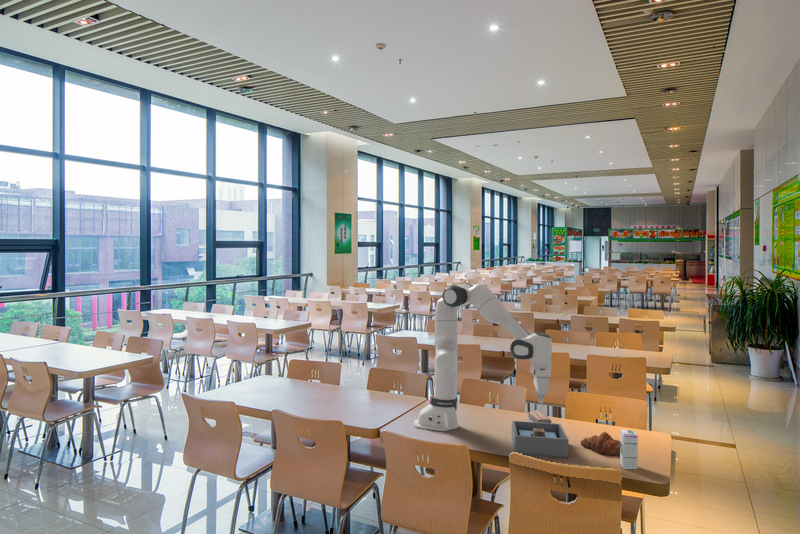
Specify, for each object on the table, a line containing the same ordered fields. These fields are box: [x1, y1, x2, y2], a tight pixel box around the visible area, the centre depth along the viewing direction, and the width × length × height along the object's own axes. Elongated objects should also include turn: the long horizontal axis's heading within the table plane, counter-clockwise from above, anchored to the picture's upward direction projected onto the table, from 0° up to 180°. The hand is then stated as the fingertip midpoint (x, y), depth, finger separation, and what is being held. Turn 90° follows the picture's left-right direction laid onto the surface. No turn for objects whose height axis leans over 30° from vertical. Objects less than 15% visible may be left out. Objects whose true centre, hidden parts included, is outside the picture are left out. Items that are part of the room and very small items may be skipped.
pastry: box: [580, 431, 620, 457], centre depth 238 cm, size 17×15×8 cm
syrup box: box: [619, 429, 639, 470], centre depth 219 cm, size 6×6×14 cm
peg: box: [533, 428, 545, 437], centre depth 240 cm, size 4×4×7 cm
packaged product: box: [524, 409, 552, 423], centre depth 277 cm, size 18×5×10 cm
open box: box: [511, 420, 569, 459], centre depth 240 cm, size 22×22×8 cm
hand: (539, 400), depth 239 cm, fingers open, 8 cm apart
